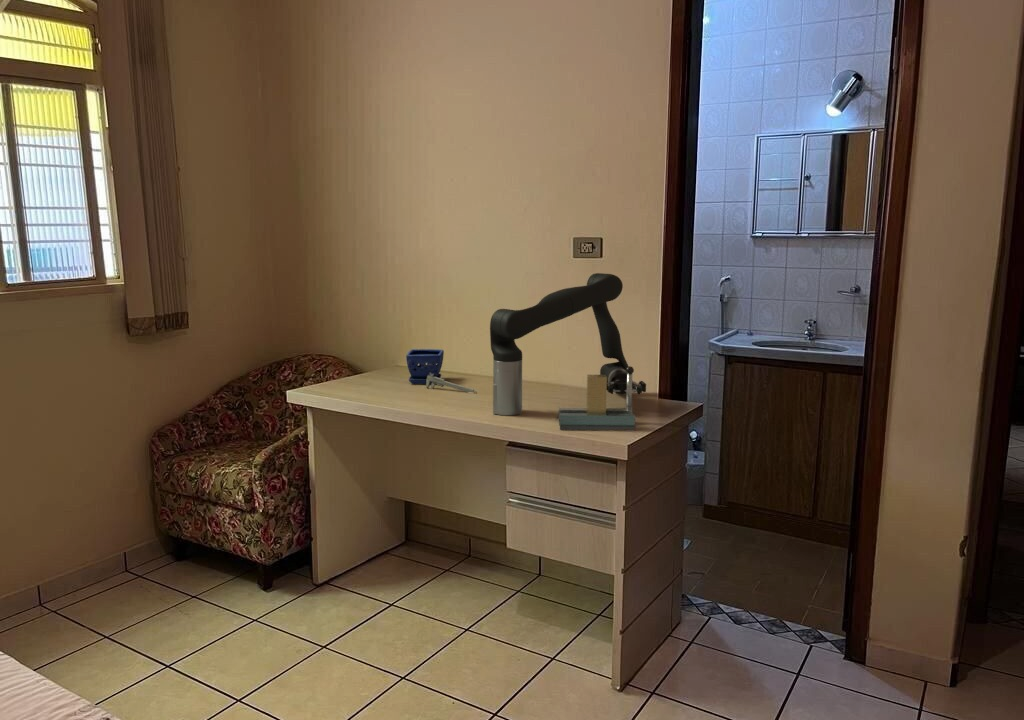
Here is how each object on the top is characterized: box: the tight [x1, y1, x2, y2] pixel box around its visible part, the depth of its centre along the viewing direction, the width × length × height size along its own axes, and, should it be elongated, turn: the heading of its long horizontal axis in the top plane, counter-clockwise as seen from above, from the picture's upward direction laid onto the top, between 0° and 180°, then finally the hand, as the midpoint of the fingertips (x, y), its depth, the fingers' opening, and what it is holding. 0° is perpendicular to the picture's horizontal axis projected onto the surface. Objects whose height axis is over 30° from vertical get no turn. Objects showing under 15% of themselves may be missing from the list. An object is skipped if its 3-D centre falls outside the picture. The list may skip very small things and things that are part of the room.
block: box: [586, 374, 607, 413], centre depth 236 cm, size 4×6×14 cm
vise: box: [557, 413, 636, 431], centre depth 239 cm, size 16×22×4 cm
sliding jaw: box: [558, 365, 635, 419], centre depth 240 cm, size 4×22×16 cm, turn 89°
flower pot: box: [405, 348, 445, 385], centre depth 303 cm, size 13×13×12 cm
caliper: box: [425, 373, 477, 394], centre depth 287 cm, size 20×1×6 cm, turn 66°
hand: (625, 390), depth 249 cm, fingers open, 8 cm apart
